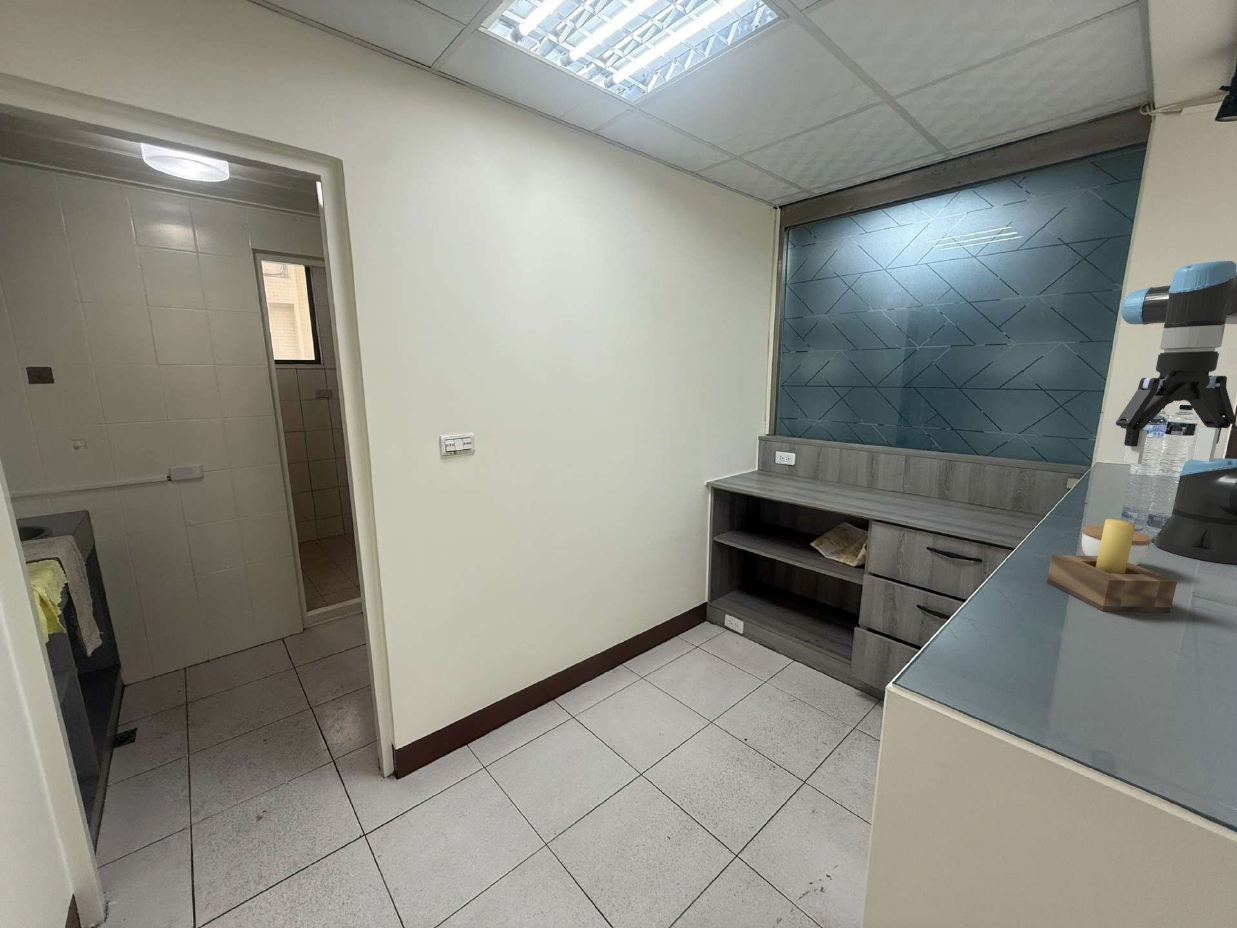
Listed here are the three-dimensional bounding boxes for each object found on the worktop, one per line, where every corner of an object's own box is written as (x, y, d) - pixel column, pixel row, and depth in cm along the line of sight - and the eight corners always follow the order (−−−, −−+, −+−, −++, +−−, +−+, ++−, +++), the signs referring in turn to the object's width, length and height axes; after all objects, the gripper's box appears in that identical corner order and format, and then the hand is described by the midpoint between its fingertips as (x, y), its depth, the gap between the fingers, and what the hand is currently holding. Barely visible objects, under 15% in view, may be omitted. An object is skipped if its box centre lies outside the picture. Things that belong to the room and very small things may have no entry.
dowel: (1105, 587, 96) (1120, 519, 93) (1126, 596, 92) (1142, 525, 89) (1085, 587, 96) (1099, 518, 93) (1104, 596, 92) (1120, 525, 89)
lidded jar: (1113, 557, 114) (1121, 519, 113) (1158, 576, 104) (1168, 534, 102) (1064, 555, 115) (1071, 517, 114) (1104, 574, 105) (1112, 532, 103)
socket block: (1106, 583, 100) (1112, 556, 99) (1169, 612, 88) (1177, 581, 87) (1046, 582, 100) (1051, 555, 99) (1102, 611, 88) (1108, 580, 87)
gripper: (1231, 349, 95) (1209, 456, 99) (1101, 353, 95) (1085, 460, 99) (1282, 347, 88) (1256, 463, 92) (1142, 352, 88) (1122, 467, 92)
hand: (1167, 461), depth 96 cm, fingers open, 13 cm apart
